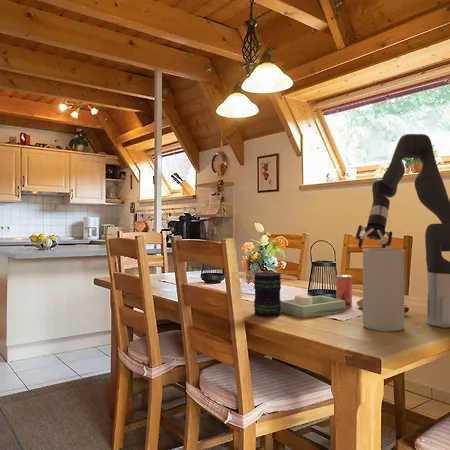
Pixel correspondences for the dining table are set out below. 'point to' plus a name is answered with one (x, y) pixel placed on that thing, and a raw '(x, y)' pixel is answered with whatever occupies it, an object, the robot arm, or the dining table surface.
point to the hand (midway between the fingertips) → (370, 250)
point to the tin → (344, 289)
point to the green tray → (313, 307)
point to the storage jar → (267, 294)
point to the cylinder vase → (383, 289)
